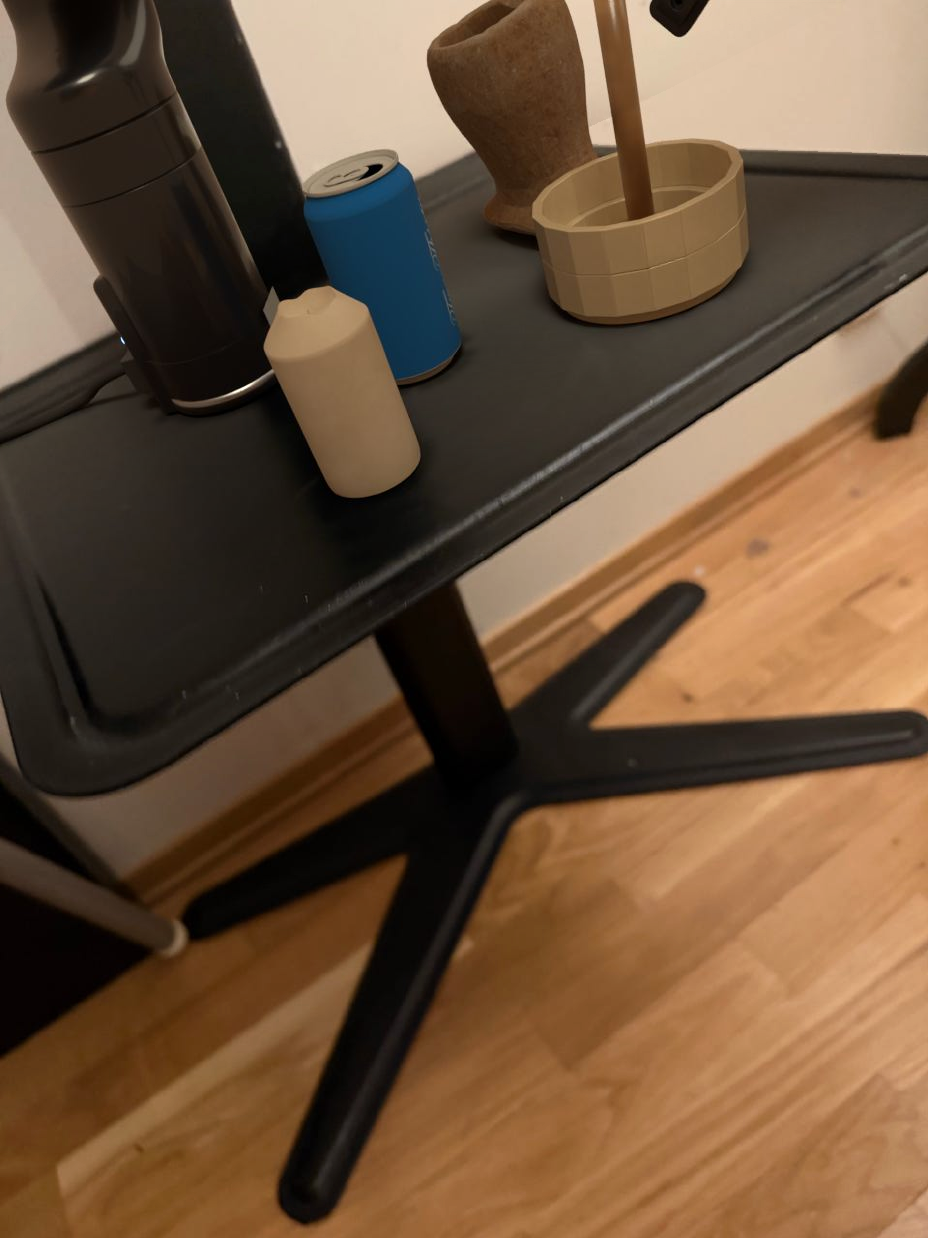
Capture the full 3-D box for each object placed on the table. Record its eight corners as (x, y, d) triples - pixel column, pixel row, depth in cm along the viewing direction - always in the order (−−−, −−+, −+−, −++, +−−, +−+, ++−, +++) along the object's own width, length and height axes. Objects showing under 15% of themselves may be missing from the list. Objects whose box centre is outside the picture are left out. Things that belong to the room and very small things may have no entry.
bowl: (553, 348, 54) (530, 251, 50) (552, 262, 63) (532, 174, 59) (764, 299, 51) (758, 192, 47) (732, 216, 60) (724, 120, 56)
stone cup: (449, 243, 71) (385, 27, 61) (569, 178, 73) (526, -39, 63) (562, 283, 60) (506, 28, 50) (698, 206, 62) (670, -51, 52)
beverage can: (464, 376, 54) (400, 173, 47) (364, 401, 56) (285, 207, 48) (466, 327, 59) (408, 135, 51) (374, 351, 60) (303, 168, 53)
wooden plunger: (612, 292, 55) (555, -25, 44) (608, 260, 58) (554, -42, 47) (692, 273, 54) (654, -58, 43) (683, 241, 57) (646, -73, 46)
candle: (385, 505, 47) (310, 330, 40) (309, 493, 50) (228, 328, 43) (440, 443, 50) (379, 271, 43) (365, 435, 53) (297, 272, 46)
